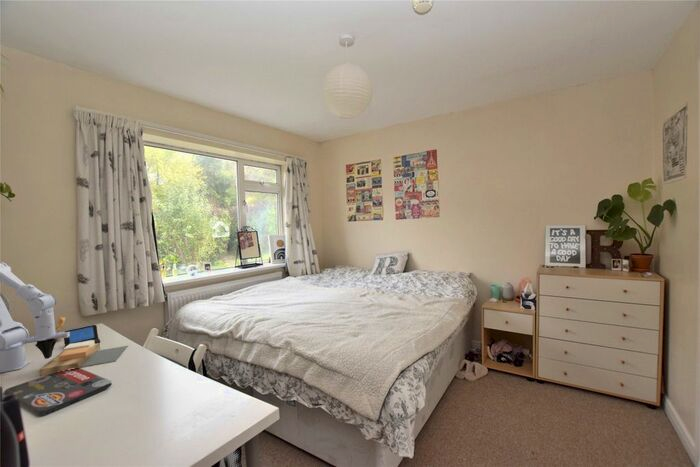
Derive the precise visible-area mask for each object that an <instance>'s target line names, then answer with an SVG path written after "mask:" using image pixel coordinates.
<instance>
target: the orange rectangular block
mask: <svg viewBox="0 0 700 467" xmlns="http://www.w3.org/2000/svg"><path fill="white" fill-rule="evenodd" d="M91 351H92V347H85V348H79V349H73V350H67V351H64V352H63V351H62V352H63V353H62V354H61V355H59V354H58V355H59V356H58V359H59V361H62V360H68V359H74V358H80V357H86V356H87V355H88V354H89V353H90V352H91Z"/></svg>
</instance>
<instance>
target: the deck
mask: <svg viewBox="0 0 700 467" xmlns="http://www.w3.org/2000/svg"><path fill="white" fill-rule="evenodd" d="M100 343H101V342H100ZM100 343H96V344H94V345H93V346H92V351H91V352H90V353H89V354H88V355H87V356H86V357H80V358H74V359H68V360H62V361H59V359H58V356H59V355H61V354H62V353H63V351H61V352H60V353H59V354H58V355H56V356H55V357H53V358H52V359H51V360H49V361H48V362H47V363H46V364H44V365H43V366H42V367H41V368H39V371H38V372H39V376H40V377H41V376H45V375H46V376H47V375H51V374H57V373H56V372H58V371H62V370H65V369H69V368H73V367H76V368H79V369H81V368H80V366H81V365H82V364H83V363H84V362H85V361H86V360H88V359H89V358H90V357H91V356H92V355H93V354H94V353H95V352H96V351H98V350H101V344H100ZM58 373H59V372H58Z"/></svg>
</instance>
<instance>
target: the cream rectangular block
mask: <svg viewBox="0 0 700 467" xmlns="http://www.w3.org/2000/svg"><path fill="white" fill-rule="evenodd" d="M94 344H95V343H94V340H92V341H85V342H79V343H73V344H69V345H68V346H66V347H65V346H64V348H63V349H62V352H64V351H67V350H73V349H79V348H85V347H92V346H93V345H94Z"/></svg>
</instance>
